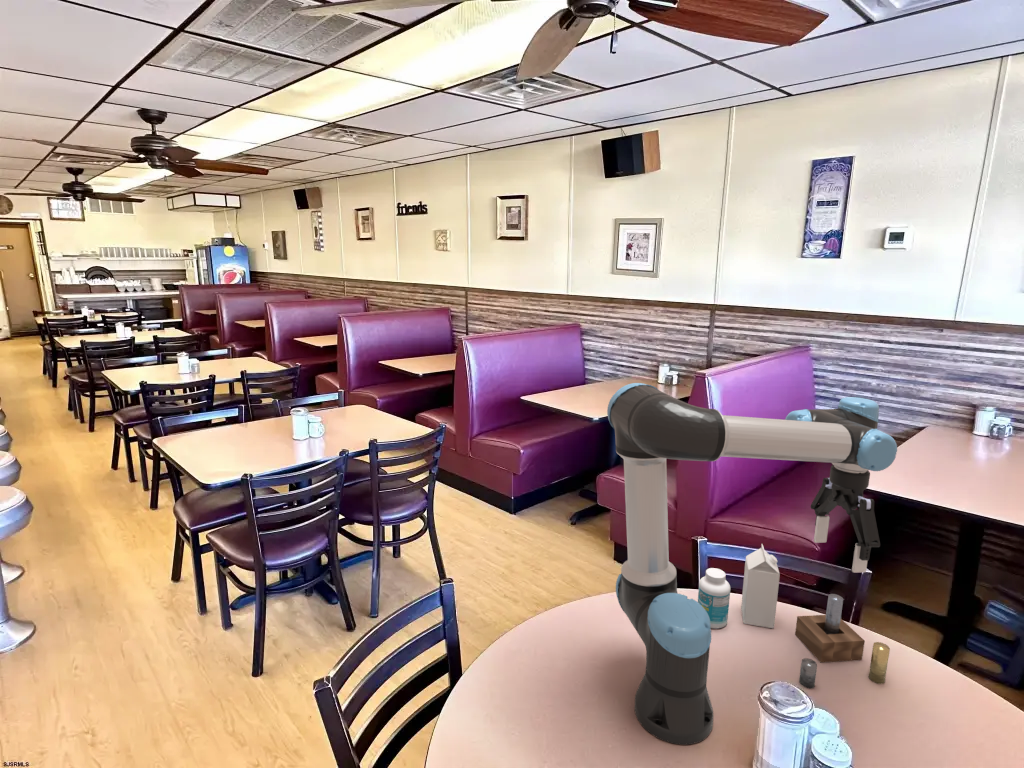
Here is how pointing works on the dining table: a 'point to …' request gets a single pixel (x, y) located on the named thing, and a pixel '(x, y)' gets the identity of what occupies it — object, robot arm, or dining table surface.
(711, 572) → the pill bottle
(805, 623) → the walnut hole block
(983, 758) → the dining table surface
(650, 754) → the dining table surface
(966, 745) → the dining table surface
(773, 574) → the milk carton
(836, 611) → the long steel pin
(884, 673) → the medium brass pin
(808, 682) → the short gunmetal pin
